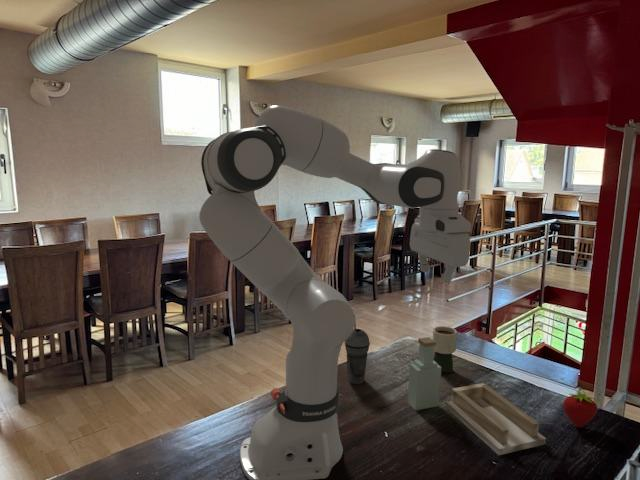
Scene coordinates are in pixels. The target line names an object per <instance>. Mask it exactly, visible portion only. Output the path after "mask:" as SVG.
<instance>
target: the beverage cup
mask: <svg viewBox="0 0 640 480" xmlns="http://www.w3.org/2000/svg"><path fill="white" fill-rule="evenodd" d="M354 316H355V317H356V315H355V314H354ZM344 346H345V351H346V363H347V364H346V366H347V378H348V379H347V381H348V380H349V383H350V384H354V385H360V384H363V383H364V381H365V376H366V368H367V359H368V352H369V349H370V346H371V343H370V339H369V335H368V334H367V332H366V331H365V330H363V329H362V328H361V329H360V328H357V325H356V321H355V324H354V328H353V331H352V333H351V335H350V336H349V337H348V338H347V340H345V341H344Z"/></svg>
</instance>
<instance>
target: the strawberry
mask: <svg viewBox="0 0 640 480" xmlns="http://www.w3.org/2000/svg"><path fill="white" fill-rule="evenodd" d="M581 389H582V391H583V393H584V394H583V393H582V392H581V391H579V390H578V391H577V394H574V393H573V394H572V393H569V394H568V395H569V396H568V397H566V398H564V401H563V409H564V413H565V414H566V416H567V417H568V419H569V420H570V421H571V422H572V423H573V425H574V426H575V427H576V428H582V427H584V426H586V424H589V422H590V421H592V420H593V419H594V418H595V416H596V414H597V413H598V405H597V404H596V402H595V401H594V400H595V398H594V397H591V396H588V395H587V394H586V393H585V391H584V388H581Z"/></svg>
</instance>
